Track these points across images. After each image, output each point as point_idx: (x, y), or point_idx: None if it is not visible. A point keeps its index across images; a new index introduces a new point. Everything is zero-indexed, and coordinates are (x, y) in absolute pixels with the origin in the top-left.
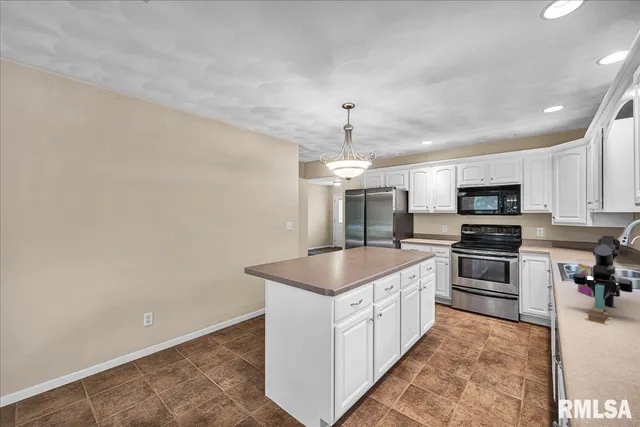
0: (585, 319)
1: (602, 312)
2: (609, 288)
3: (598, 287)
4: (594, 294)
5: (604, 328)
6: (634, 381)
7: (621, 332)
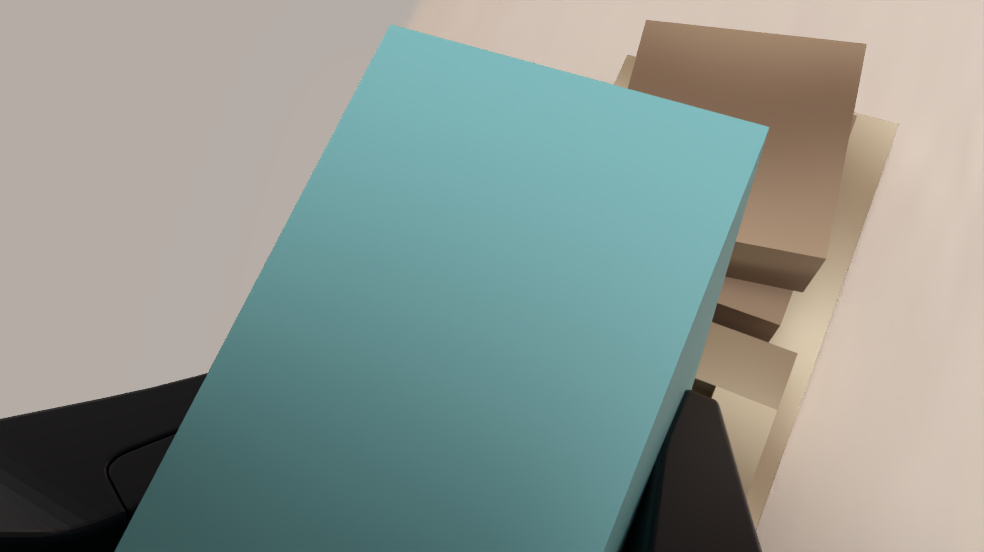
0: (872, 153)
1: (662, 23)
2: (49, 431)
3: (601, 110)
4: (705, 422)
5: None
6: None
7: (522, 6)
